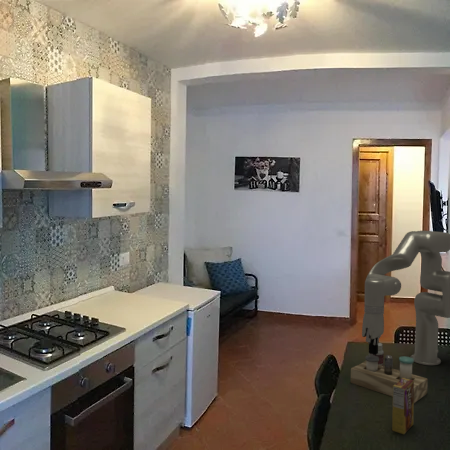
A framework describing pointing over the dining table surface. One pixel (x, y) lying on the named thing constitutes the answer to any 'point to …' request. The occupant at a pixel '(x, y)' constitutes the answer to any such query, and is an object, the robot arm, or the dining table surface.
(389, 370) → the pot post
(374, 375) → the wooden holder block
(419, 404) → the dining table surface
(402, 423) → the candy box
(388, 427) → the dining table surface
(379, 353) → the pill bottle
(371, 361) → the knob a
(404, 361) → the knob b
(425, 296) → the robot arm
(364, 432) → the dining table surface
